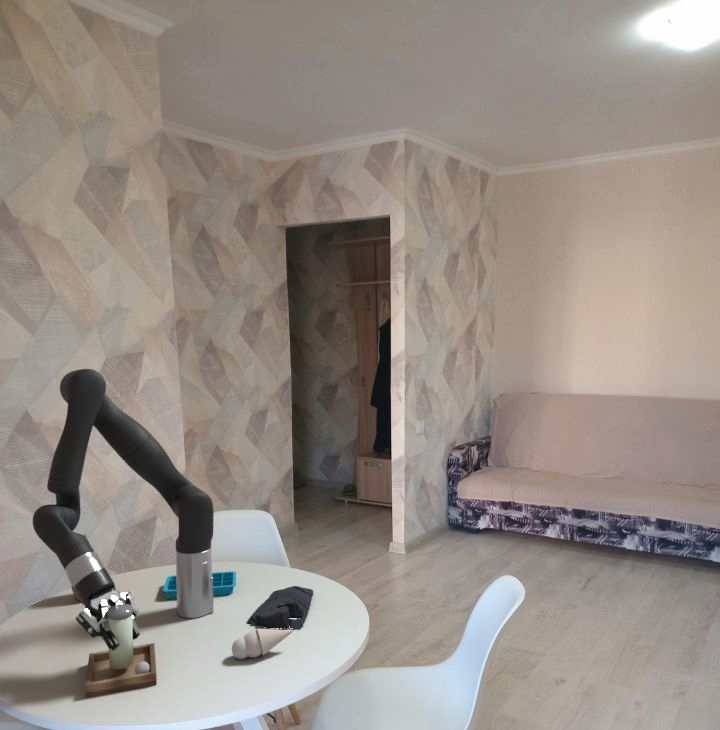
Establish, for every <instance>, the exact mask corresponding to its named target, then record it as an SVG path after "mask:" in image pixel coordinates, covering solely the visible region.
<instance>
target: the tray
mask: <svg viewBox="0 0 720 730" xmlns="http://www.w3.org/2000/svg"><path fill="white" fill-rule="evenodd" d="M155 648H156V647H155V642H153V643H146V644H140V645H133V663H132V665H130V666H129V667H126V668H123V669H112V668H110V667H109V650H104V651H103V650H102V651H97V652H90V653H89V655H88V661H87V662H88V663H87V668H86V669H87V670H86V675H85V676H86V677H85V683H84V693H85V696H84V697H85V698H91V697H97V696H101V695H108V694H112V693H119V692H123V691H129V690H135V689H139V688H140V689H141V688H145V687H151V686H156V685H157V683H158V682H157V679H158V678H157V662H156V649H155ZM143 661H144V662H147V663H148V664H149V667H150V669H149V672H147V673H141V674H136V673H135V667H136V665H137V664H138V663H140V662H143Z"/></svg>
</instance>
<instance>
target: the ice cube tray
mask: <svg viewBox="0 0 720 730" xmlns="http://www.w3.org/2000/svg"><path fill="white" fill-rule="evenodd" d="M212 577H213V597H214V595H217V596H227V595H226V594H229V595H232V594H233V593H234V587H236V586H237V572H236V571H234V570H232V571H231V570H229V571H217V572H212ZM162 592H164V593H165V594H166V599H168V600H177V583H176V574H175V575H169V576H167V577H166V579H165V582H164V586H163V588H162Z"/></svg>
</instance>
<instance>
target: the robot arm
mask: <svg viewBox="0 0 720 730" xmlns="http://www.w3.org/2000/svg"><path fill="white" fill-rule="evenodd" d="M59 384H60V385H59V392H60V395H61V397H62V400H64V401H65V402H66V403H67V410H66V411H67V412H66V417H65V422H64V427H63V428H62V429H63V430H62V433H61V435H60V438H59V441H58V443H57V446H56V448H55V451H54V454H53V457H52V460H51V464H50V465H51V466H50V470H49V473H48V478H47V483H46V484H47V485H46V488H47V490H48V492H49V493H51V494H53V495H55V504H54V503H53V504H44V505H41V506H40V507H38V508H37V509H36V510H35V511H34V513H33V514H32V515H33V517H32V527H33V529H34V531H35V534H36V535H37V537H38V538H39V539H40V541H41V542H43V543H44V545H46V546H47V548H49V549H50V551H52V552H53V553H54V554H55V555H56V557H57V559H58V560H59V562H60V564H61V565H62V567H63V570H64V571H65V573H66V576H67V579H68V580H69V582H70V584H71V586H73V588H74V590H75V592H76V593H77V595H78V597H79V599H80V602H81V604H82V605H83V606H84V609H82V610H80V612H79V613H78V614H77V616H76V617H75V620H76V622H77V623H78V624H79V625H80V626H81V627H82V628H83V629H84V631H86V633H87V634H88V635H89V636H90V637H91V638H92V639H94V638H96V637H101V638H102V639H103V641H104V643H105V644H106V646H107V648H108V650H109V649H111V650H112V651H113V650H115V649H116V648H117V647H118V646H119V643H118V641H117V639H116V637H115V635H114V634H113V632H112V631H111V630H110V627H109V623H108V617H107V610H108V609H109V608H110V607H112V606H115V605H119V604H129V605H132V607H133V614H132V622H133V641H135V640H136V639H138V637H140V634H141V630H140V627H139V626H138V624H137V623H136V621H135V617H136V616H137V615H138V614H139V608H138V605H137V602H136V599H135V596H134V592H133V590H131V589H130V590H128V591H127V592H120V591H118V590H117V588H116V584H115V581H113V578H112V576H110V574H109V572H108V570H107V569H106V567H105V565H104V563H103V562H102V560H101V559H100V557H99V555H98V556H97V555H96V554H97V553H96V552H94V550H93V549H92V547H91V545H92V544H91V543H90V544H89V542H90V541H89V542H88V540H87V539H86V537H85V536H83V535H84V534H81V533H78V532H74V530H75V529H77V526H78V524H79V522H80V519H81V493H80V484H81V481H82V477H83V471H84V464H85V459H86V455H87V452H88V451H87V449H88V446H89V442H90V438H91V433H92V430H93V428H95V429H96V430H97V431H98V432H99V434H100V435H101V436H102V437H103V439H104V440H105V441H106V442H107V443H108V445H109V446H110V448H112V449H113V451H114V452H115V453H116V454H117V456H119V457H120V458H121V459H122V460H123V461H124V463H125V464H126V465H127V466H128V467H129V468H131V470H132V471H133V472H135V473H136V474H137V475H138V476H139V477H140V478H141V479H143V480H144V481H145V482H147V483H148V484H149V485H150V486H152V487H153V488H154V489H155V490H156V491H157V492H158V493H159V494H160V496H161V497H162V498H163V499H164V501H166V504H167V505H168V506H169V508H170V510H171V511H172V512H173V513H174V514H175V517H177V518H178V536H177V538H176V540H175V572H176V573H175V575H176V583H177V599H176V614H177V615H178V616H179V617H182V618H186V619H195V618H196V619H197V618H201V617H204V616H206V615H208V614H211V613H214V596H213V577H212V573H213V572H212V562H213V561H212V540H213V537H214V517H215V516H214V504H213V500H212V498H211V497H210V495H208V494H207V493H206V492H205V491H203V490H202V489H200V488H199V487H197V486H196V485H194V484H193V483H192V482H191V481H190V480H189V479H187V478H186V477H185V476H184V475H183V474H182V473H181V472H180V471H179V469H177V468H176V466H175V465H174V463H173V461H172V459H171V457H170V456H169V455H168V454H167V452H166V450H165V448H163V446H162V445H161V444H160V442H159V441H158V440H157V439H156V438H155V437H154V436H153V435H152V433H151V432H150V431H148V429H147V428H145V427H144V426H143V425H142V424H141V423H140V422H139V421H137V420H135V419H134V418H133V417H132V416H130V415H128V414H127V413H125V412H124V411H123V410H121V409H120V408H119V407H118V406H117V405H116V404H115V403H114V402H113V401H112V400H111V398H110V397H109V396H108V394H107V393H106V391H107V384H106V380H105V378H104V376H103V375H102V374H101V373H100V372H98V371H97V370H95V369H94V368H93V369H91V368H80V369H76V370H72V371H70V372H68V373H66V374H65V375H64V376H63V377H62V379H61V380H60V383H59ZM95 553H96V554H95ZM92 617H94V618H95V619H93V618H92ZM109 630H110V631H109Z"/></svg>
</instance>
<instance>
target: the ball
mask: <svg viewBox="0 0 720 730" xmlns="http://www.w3.org/2000/svg"><path fill="white" fill-rule="evenodd" d="M149 669H150V667H149V664H148V663H147V662H144V661H143V662H140V663H138V664H137V665H136V667H135V673H136V674H141V673H147V672H149Z"/></svg>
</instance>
